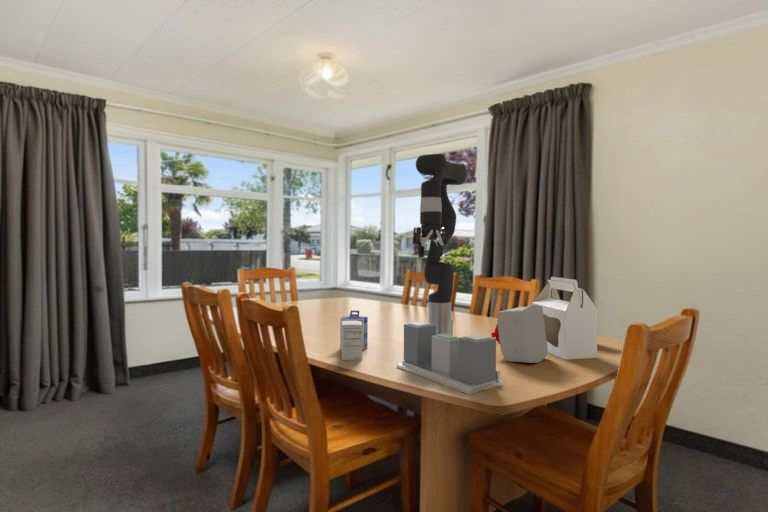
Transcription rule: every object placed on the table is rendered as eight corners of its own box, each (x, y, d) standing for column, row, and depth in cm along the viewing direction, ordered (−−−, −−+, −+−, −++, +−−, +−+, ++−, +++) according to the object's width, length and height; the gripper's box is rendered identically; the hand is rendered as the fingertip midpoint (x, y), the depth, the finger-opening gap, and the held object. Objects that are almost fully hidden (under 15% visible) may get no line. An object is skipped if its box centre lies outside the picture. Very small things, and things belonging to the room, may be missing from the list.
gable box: (531, 345, 177) (532, 276, 176) (560, 344, 180) (561, 275, 179) (565, 360, 155) (566, 281, 154) (597, 358, 158) (599, 280, 157)
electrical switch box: (511, 356, 168) (505, 304, 169) (548, 358, 157) (541, 302, 158) (490, 364, 157) (483, 308, 159) (529, 366, 147) (521, 306, 148)
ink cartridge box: (368, 347, 173) (368, 310, 172) (364, 350, 167) (364, 312, 167) (343, 345, 175) (344, 309, 174) (339, 349, 169) (339, 311, 169)
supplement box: (341, 355, 161) (341, 320, 160) (361, 354, 161) (361, 320, 161) (341, 360, 153) (341, 324, 153) (362, 360, 154) (362, 324, 154)
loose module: (443, 364, 141) (443, 332, 141) (461, 370, 135) (461, 337, 134) (431, 367, 138) (431, 334, 138) (449, 373, 132) (449, 339, 132)
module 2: (477, 374, 132) (477, 333, 131) (495, 380, 126) (496, 337, 126) (458, 379, 127) (458, 336, 127) (476, 385, 121) (477, 340, 121)
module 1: (421, 356, 152) (422, 320, 151) (435, 360, 146) (436, 323, 146) (403, 359, 147) (403, 323, 147) (417, 364, 141) (417, 326, 141)
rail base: (428, 360, 154) (428, 349, 154) (502, 385, 128) (502, 371, 128) (396, 367, 145) (396, 355, 145) (469, 394, 120) (469, 380, 119)
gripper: (438, 212, 162) (437, 256, 163) (408, 210, 154) (408, 257, 154) (452, 211, 156) (452, 257, 157) (422, 209, 148) (422, 257, 148)
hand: (430, 256), depth 155 cm, fingers open, 8 cm apart
